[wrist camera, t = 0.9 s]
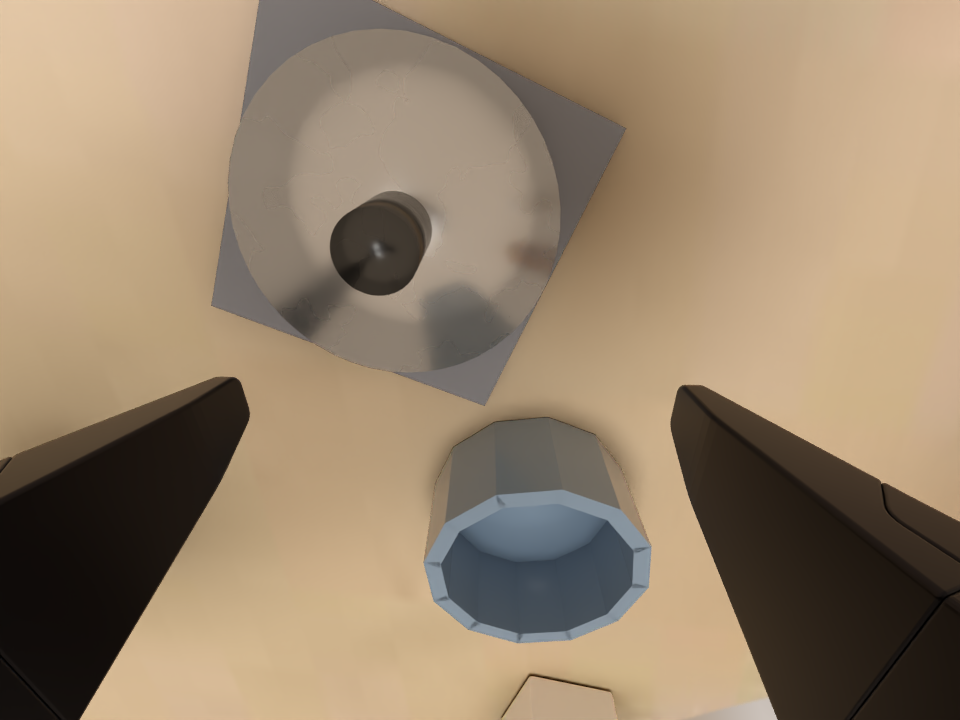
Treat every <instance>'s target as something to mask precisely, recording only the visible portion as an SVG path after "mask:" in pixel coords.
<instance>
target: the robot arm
mask: <svg viewBox="0 0 960 720" xmlns="http://www.w3.org/2000/svg"><path fill="white" fill-rule="evenodd" d="M249 417H250V411H249V407H248V403H247V400H246V397H245V394H244V391H243V388H242V385H241V382H240V381H239V380H238V379H237V378H235V377H215V378H212V379H209V380H207V381H204V382H202V383H199V384H196V385H194V386H191V387H189V388H186V389H184V390H181V391H178V392H176V393H173V394H171V395H168V396H166V397H163V398H160V399H158V400H155V401H153V402H150V403H147V404H145V405H142V406H140V407H137V408H135V409H132V410H129V411H127V412H124V413H122V414H119V415H117V416H114V417H111V418H109V419H106V420H104V421H101V422H99V423H96V424H93V425H91V426H88V427H86V428H83V429H80V430H78V431H75V432H73V433H70V434H68V435H65V436H62V437H60V438H57V439H55V440H52V441H50V442H47V443H44V444H42V445H39V446H37V447H34V448H32V449H29V450H26V451H24V452H21V453H19V454H16V455H15V456H14V457H13V458H12V457H8V458H6V459H3V460H0V720H80V718H81V716H82V715H83V713H84V711H85V710H86V708H87V706H88V705H89V703H90V701H91V700H92V698H93V696H94V695H95V693H96V691H97V689H98V688H99V686H100V684H101V683H102V681H103V679H104V678H105V676H106V674H107V673H108V671H109V669H110V668H111V666H112V664H113V663H114V661H115V659H116V657H117V656H118V654H119V652H120V651H121V649H122V647H123V646H124V644H125V642H126V641H127V639H128V637H129V636H130V634H131V632H132V631H133V629H134V627H135V625H136V624H137V622H138V620H139V619H140V617H141V615H142V614H143V612H144V610H145V609H146V607H147V605H148V604H149V602H150V600H151V599H152V597H153V595H154V594H155V592H156V590H157V588H158V587H159V585H160V583H161V582H162V580H163V578H164V577H165V575H166V573H167V572H168V570H169V568H170V567H171V565H172V563H173V562H174V560H175V558H176V556H177V555H178V553H179V551H180V550H181V548H182V546H183V545H184V543H185V541H186V540H187V538H188V536H189V535H190V533H191V531H192V530H193V528H194V526H195V524H196V523H197V521H198V519H199V518H200V516H201V514H202V513H203V511H204V509H205V508H206V506H207V504H208V503H209V501H210V499H211V498H212V496H213V494H214V492H215V491H216V489H217V487H218V485H219V484H220V482H221V480H222V478H223V476H224V474H225V472H226V470H227V467H228V465H229V463H230V461H231V459H232V456H233V454H234V452H235V450H236V448H237V446H238V443H239V441H240V439H241V437H242V435H243V432H244V430H245V428H246V426H247V424H248V421H249ZM671 432H672V436H673V440H674V444H675V447H676V451H677V455H678V459H679V463H680V466H681V470H682V474H683V478H684V482H685V485H686V489H687V492H688V496H689V498H690V501H691V504H692V507H693V509H694V512H695V514H696V517H697V519H698V522H699V524H700V527H701V529H702V532H703V534H704V537H705V539H706V542H707V544H708V547H709V549H710V552H711V554H712V557H713V559H714V562H715V564H716V567H717V569H718V572H719V574H720V577H721V579H722V582H723V584H724V587H725V589H726V592H727V594H728V597H729V599H730V602H731V604H732V607H733V609H734V612H735V614H736V617H737V619H738V622H739V624H740V627H741V629H742V632H743V634H744V637H745V639H746V642H747V644H748V647H749V649H750V652H751V654H752V657H753V659H754V662H755V664H756V667H757V669H758V672H759V674H760V677H761V679H762V682H763V684H764V687H765V689H766V692H767V694H768V697H769V699H770V702H771V704H772V707H773V709H774V712H775V714H776V717H777V719H778V720H960V522H959V521H957V520H955V519H953V518H951V517H949V516H947V515H945V514H943V513H942V512H940V511H938V510H936V509H934V508H932V507H930V506H928V505H926V504H924V503H922V502H920V501H918V500H916V499H915V498H913V497H911V496H909V495H907V494H905V493H903V492H901V491H899V490H898V489H896V488H894V487H892V486H890V485H888V484H886V483H882V484H881V481H880V480H879V479H877V478H875V477H873V476H871V475H869V474H867V473H866V472H864V471H862V470H860V469H858V468H856V467H854V466H852V465H851V464H849V463H847V462H845V461H843V460H841V459H839V458H837V457H836V456H834V455H832V454H830V453H828V452H826V451H824V450H823V449H821V448H819V447H817V446H815V445H813V444H811V443H809V442H808V441H806V440H804V439H802V438H800V437H798V436H796V435H794V434H793V433H791V432H789V431H787V430H785V429H783V428H781V427H779V426H778V425H776V424H774V423H772V422H770V421H768V420H766V419H764V418H763V417H761V416H759V415H757V414H755V413H753V412H751V411H750V410H748V409H746V408H744V407H742V406H740V405H738V404H736V403H735V402H733V401H731V400H729V399H727V398H725V397H723V396H721V395H720V394H718V393H716V392H714V391H712V390H710V389H708V388H706V387H705V386H702V385H682V386H681V387H679V389H678V391H677V395H676V399H675V403H674V408H673V412H672V416H671Z"/></svg>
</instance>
